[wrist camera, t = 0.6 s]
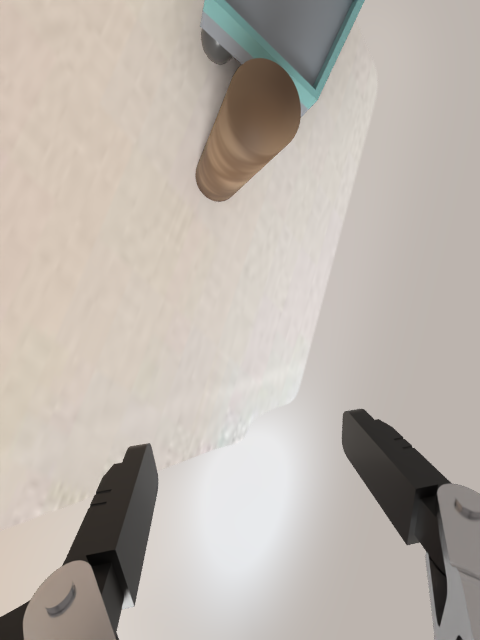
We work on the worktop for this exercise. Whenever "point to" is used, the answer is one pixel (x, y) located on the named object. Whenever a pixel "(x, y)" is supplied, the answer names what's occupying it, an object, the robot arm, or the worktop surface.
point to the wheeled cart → (281, 36)
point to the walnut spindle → (248, 128)
